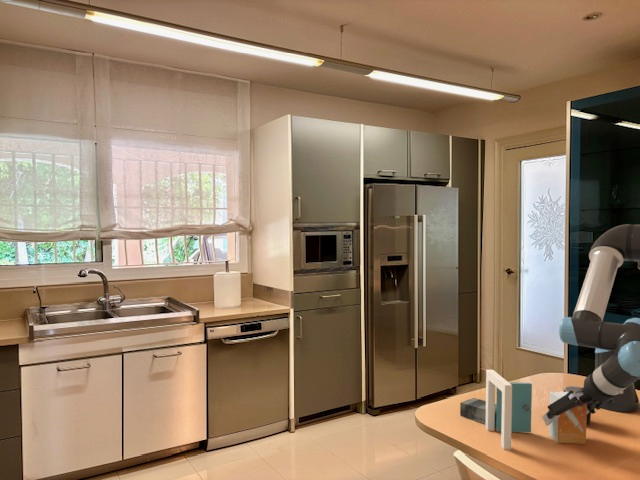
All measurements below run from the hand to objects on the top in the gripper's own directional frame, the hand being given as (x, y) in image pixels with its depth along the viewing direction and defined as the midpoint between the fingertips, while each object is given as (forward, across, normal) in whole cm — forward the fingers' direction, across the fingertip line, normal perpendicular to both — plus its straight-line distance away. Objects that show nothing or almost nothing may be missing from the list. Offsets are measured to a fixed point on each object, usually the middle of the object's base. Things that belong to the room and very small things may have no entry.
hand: (559, 419), depth 143 cm
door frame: (+5, -19, -1) cm, 20 cm away
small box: (+1, 0, -6) cm, 6 cm away
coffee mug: (+9, +14, +2) cm, 17 cm away
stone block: (+15, -14, +7) cm, 21 cm away
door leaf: (+6, -12, 0) cm, 14 cm away
